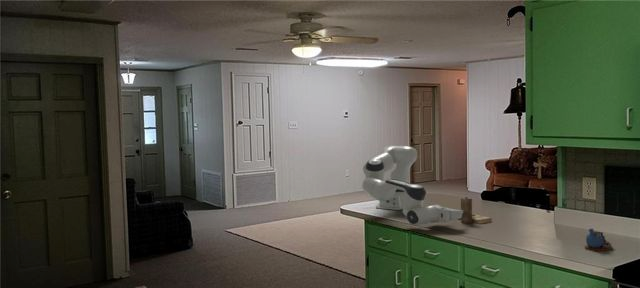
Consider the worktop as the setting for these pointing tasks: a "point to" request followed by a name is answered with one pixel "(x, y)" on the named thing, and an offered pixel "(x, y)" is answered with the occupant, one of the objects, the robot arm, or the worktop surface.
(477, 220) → the board
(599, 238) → the model
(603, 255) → the worktop surface
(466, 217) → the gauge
